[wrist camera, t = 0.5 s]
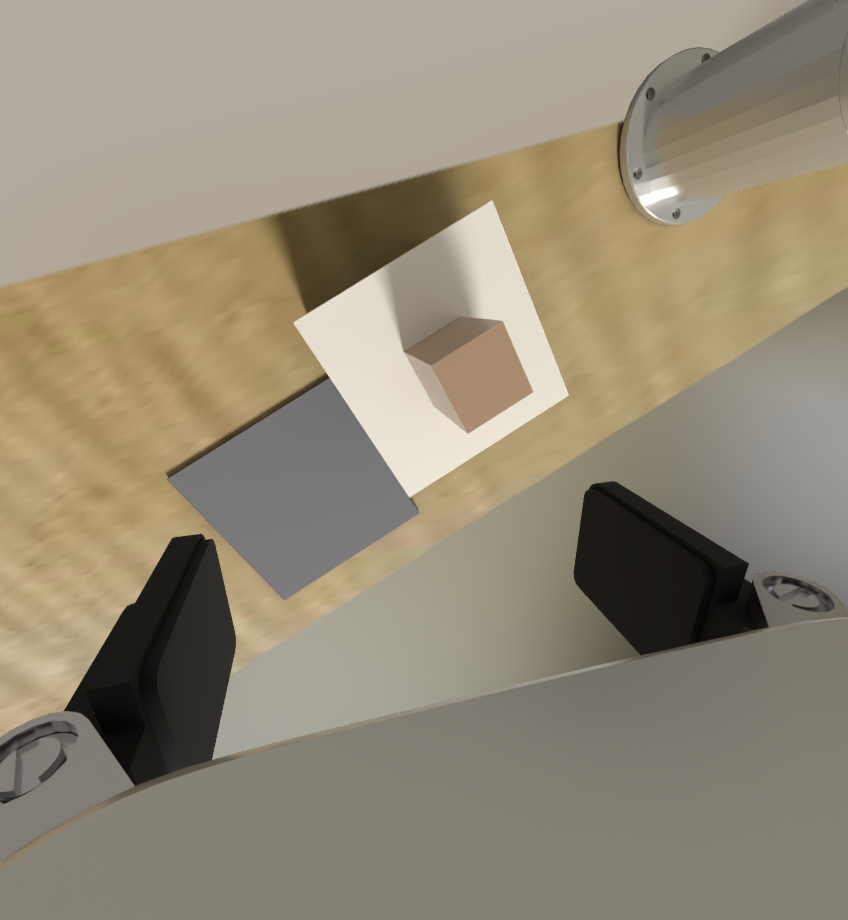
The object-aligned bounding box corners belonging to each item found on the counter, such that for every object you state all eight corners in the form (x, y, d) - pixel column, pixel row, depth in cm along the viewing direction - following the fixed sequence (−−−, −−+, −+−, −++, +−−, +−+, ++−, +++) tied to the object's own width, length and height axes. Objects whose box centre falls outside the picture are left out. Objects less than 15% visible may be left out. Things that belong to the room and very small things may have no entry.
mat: (329, 377, 37) (329, 377, 36) (418, 511, 43) (419, 513, 43) (168, 477, 36) (166, 479, 36) (284, 597, 43) (284, 600, 42)
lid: (477, 207, 26) (548, 170, 18) (551, 389, 31) (629, 416, 24) (293, 320, 25) (290, 329, 18) (402, 484, 31) (434, 543, 23)
